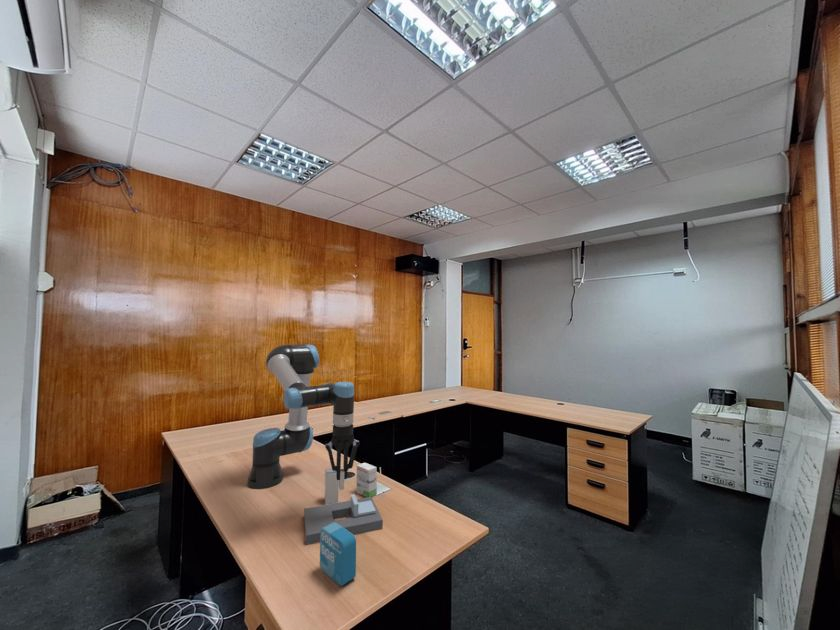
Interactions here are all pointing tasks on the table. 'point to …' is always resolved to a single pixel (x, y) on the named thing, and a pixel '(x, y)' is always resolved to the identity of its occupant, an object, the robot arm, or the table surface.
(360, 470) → the ink box
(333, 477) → the plug
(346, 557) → the data package
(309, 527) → the socket block
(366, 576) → the table surface
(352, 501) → the light blue l-shaped block
